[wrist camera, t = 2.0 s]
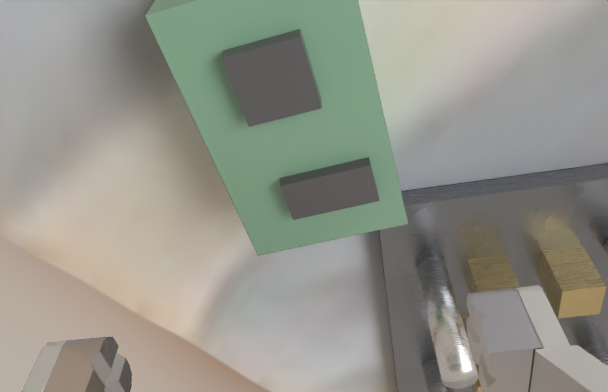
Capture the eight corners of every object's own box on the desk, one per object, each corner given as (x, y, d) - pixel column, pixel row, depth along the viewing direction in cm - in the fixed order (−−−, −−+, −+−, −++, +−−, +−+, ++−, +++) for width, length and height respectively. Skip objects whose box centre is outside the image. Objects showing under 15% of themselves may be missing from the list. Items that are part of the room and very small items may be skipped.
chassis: (375, 195, 25) (396, 319, 19) (681, 153, 23) (798, 273, 18) (397, 393, 34) (416, 513, 29) (614, 372, 33) (677, 493, 28)
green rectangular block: (170, -26, 19) (139, 23, 15) (339, -78, 18) (349, -39, 14) (263, 193, 25) (256, 266, 21) (394, 163, 24) (410, 234, 20)
